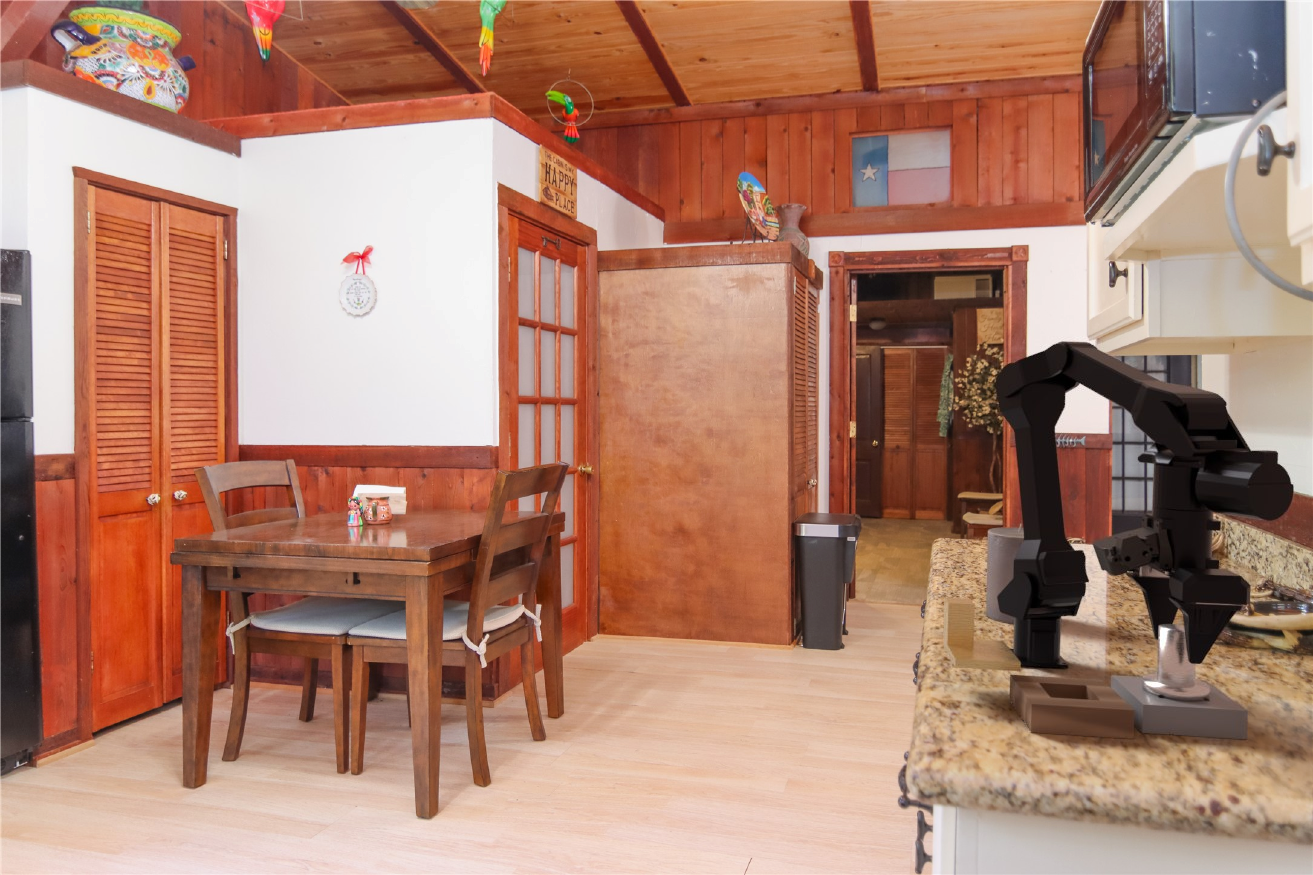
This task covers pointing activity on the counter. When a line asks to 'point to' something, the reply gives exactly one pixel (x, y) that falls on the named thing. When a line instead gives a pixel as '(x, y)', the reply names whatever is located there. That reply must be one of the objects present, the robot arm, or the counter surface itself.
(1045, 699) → the walnut socket block
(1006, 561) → the pillar candle
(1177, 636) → the steel pin
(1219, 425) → the robot arm
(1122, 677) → the grey square collar
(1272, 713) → the counter surface
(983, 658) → the brass key
